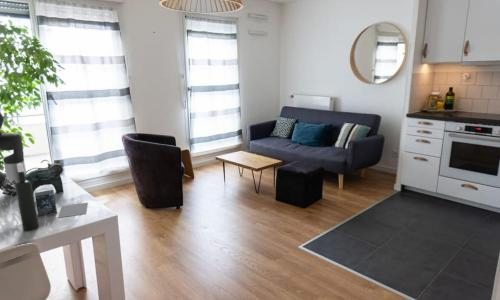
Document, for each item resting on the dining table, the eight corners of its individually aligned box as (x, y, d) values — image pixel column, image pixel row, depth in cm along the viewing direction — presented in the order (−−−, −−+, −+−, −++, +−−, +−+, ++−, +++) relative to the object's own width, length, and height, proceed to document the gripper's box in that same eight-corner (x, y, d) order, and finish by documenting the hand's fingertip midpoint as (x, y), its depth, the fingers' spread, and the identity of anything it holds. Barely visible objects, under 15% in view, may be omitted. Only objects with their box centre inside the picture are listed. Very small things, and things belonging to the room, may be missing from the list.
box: (38, 217, 157) (34, 196, 155) (38, 212, 162) (34, 192, 159) (57, 213, 162) (54, 192, 159) (56, 208, 166) (53, 189, 163)
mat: (62, 206, 169) (62, 205, 169) (87, 202, 173) (87, 202, 173) (57, 217, 157) (57, 217, 156) (85, 213, 161) (85, 213, 161)
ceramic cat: (64, 189, 191) (59, 156, 186) (67, 192, 187) (63, 158, 182) (23, 198, 177) (17, 163, 172) (27, 202, 173) (20, 166, 168)
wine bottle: (37, 223, 151) (26, 161, 143) (39, 228, 147) (28, 164, 139) (22, 227, 147) (10, 163, 139) (24, 232, 143) (12, 166, 135)
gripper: (-9, 174, 143) (29, 197, 151) (1, 165, 155) (35, 186, 163) (-21, 187, 143) (17, 209, 151) (-11, 177, 155) (24, 198, 162)
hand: (27, 197), depth 157 cm, fingers closed
